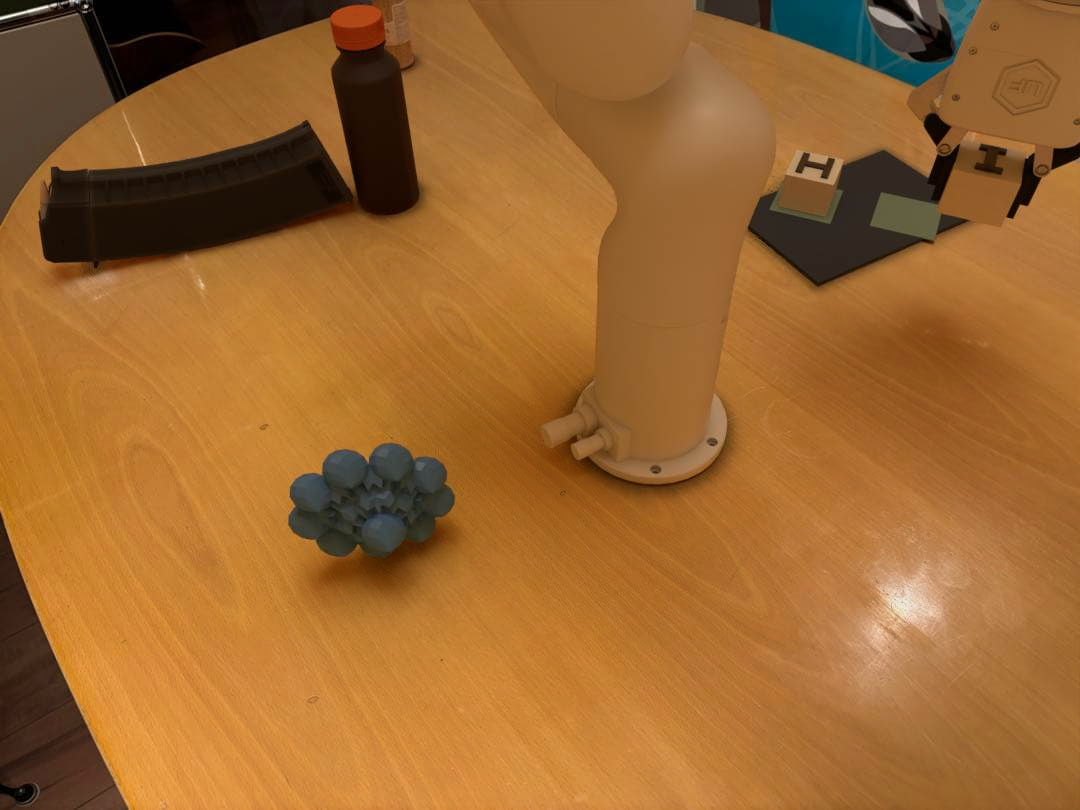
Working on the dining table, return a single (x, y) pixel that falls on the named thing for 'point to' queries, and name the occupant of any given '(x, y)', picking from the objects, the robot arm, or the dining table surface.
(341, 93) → the vinegar
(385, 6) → the sprinkles bottle
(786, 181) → the tile
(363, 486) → the grapes
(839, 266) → the mat
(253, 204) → the magazine
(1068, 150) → the robot arm
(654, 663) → the dining table surface
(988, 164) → the tile
